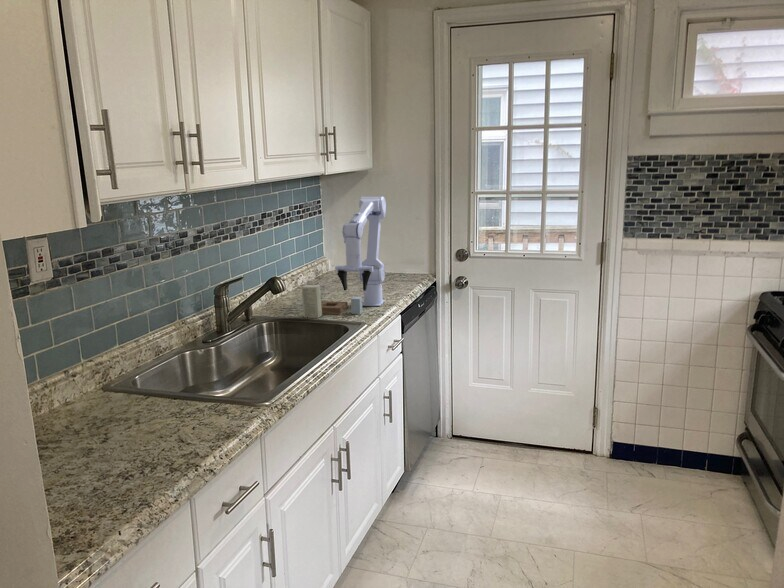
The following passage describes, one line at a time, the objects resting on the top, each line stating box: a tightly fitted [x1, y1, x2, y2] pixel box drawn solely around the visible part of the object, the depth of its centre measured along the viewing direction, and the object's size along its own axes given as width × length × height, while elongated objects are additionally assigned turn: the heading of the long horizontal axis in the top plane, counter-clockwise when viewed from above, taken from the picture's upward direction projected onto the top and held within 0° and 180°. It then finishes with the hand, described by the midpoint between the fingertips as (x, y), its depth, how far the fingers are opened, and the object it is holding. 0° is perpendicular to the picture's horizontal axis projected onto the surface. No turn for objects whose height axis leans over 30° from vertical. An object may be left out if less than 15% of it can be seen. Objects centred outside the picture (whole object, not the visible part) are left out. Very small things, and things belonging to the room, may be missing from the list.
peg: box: [350, 296, 363, 315], centre depth 252 cm, size 4×4×6 cm
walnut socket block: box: [321, 300, 349, 315], centre depth 257 cm, size 11×11×2 cm
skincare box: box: [300, 284, 323, 319], centre depth 247 cm, size 6×4×12 cm
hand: (355, 290), depth 246 cm, fingers open, 7 cm apart
